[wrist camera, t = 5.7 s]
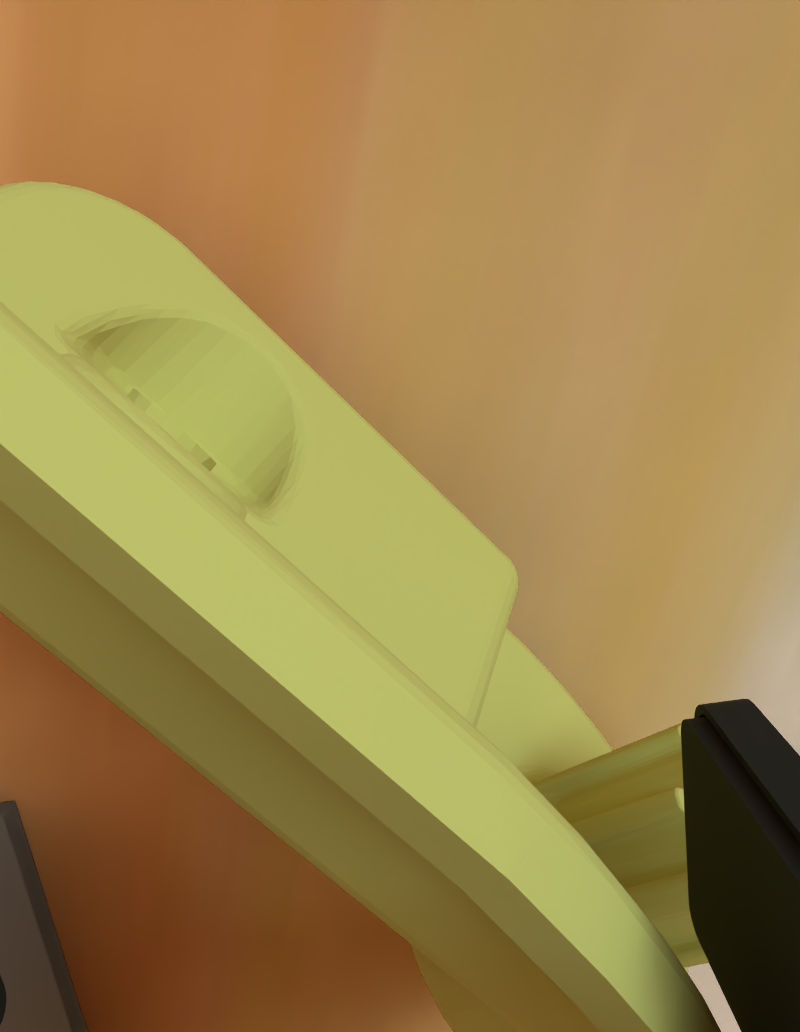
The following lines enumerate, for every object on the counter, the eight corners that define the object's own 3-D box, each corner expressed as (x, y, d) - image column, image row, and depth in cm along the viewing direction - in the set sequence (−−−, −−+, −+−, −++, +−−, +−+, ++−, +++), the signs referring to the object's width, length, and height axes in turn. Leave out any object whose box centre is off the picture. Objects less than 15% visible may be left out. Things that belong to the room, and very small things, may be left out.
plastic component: (39, 263, 16) (-590, 514, 8) (208, -74, 12) (-779, -228, 4) (656, 830, 20) (629, 1387, 12) (959, 730, 15) (1240, 1506, 7)
